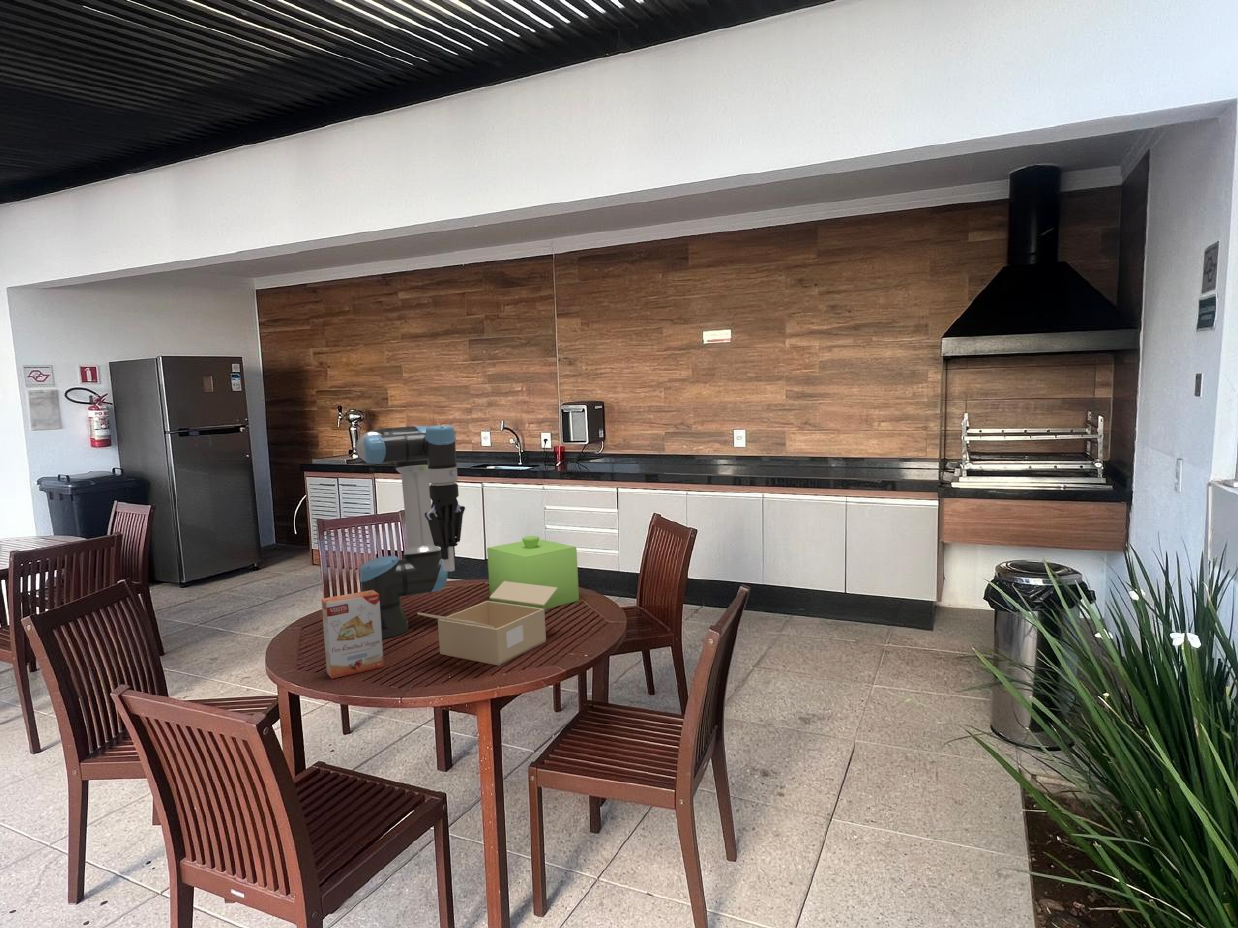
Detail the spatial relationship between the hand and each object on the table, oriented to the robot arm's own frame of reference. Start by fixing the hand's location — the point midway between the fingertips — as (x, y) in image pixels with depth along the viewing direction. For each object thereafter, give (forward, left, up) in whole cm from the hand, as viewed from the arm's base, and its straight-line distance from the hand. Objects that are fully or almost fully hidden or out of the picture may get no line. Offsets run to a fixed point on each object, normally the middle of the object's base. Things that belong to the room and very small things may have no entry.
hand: (449, 570), depth 198 cm
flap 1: (0, +5, -16) cm, 17 cm away
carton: (0, +15, -26) cm, 31 cm away
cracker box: (-23, -15, -27) cm, 38 cm away
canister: (-20, +61, -27) cm, 69 cm away
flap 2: (0, +26, -16) cm, 30 cm away
